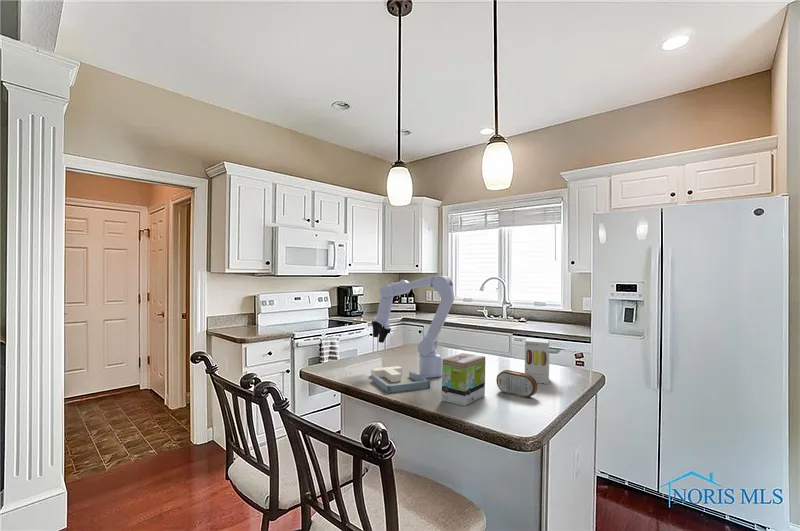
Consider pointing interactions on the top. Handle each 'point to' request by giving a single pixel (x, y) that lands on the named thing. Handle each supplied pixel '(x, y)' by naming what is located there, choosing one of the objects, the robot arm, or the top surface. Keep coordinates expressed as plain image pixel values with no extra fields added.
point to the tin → (516, 383)
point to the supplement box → (537, 359)
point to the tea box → (463, 378)
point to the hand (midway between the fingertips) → (378, 339)
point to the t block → (388, 373)
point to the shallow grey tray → (388, 388)
